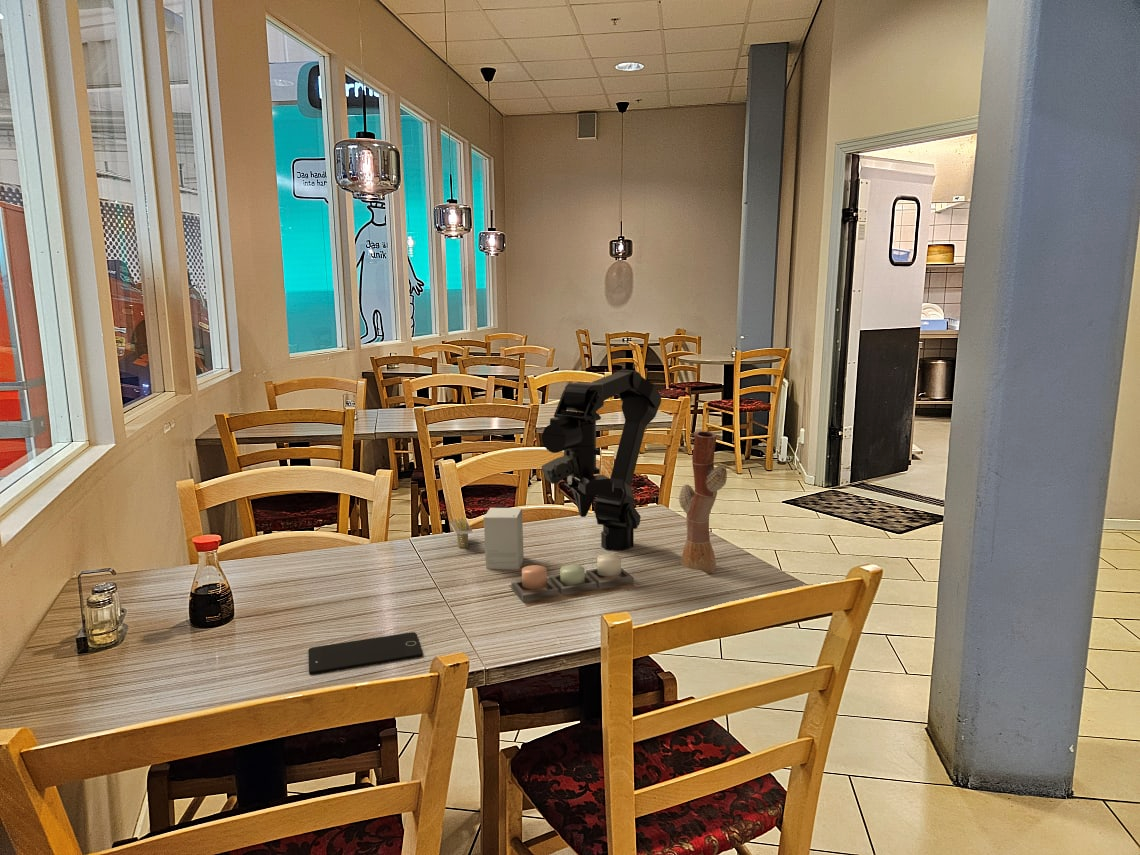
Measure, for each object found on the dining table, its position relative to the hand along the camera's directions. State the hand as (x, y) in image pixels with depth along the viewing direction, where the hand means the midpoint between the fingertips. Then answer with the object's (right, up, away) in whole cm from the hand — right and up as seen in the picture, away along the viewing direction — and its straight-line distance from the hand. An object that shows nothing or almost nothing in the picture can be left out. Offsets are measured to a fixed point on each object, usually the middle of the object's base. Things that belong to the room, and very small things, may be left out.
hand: (582, 516), depth 164 cm
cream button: (+5, -10, -7) cm, 14 cm away
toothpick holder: (-28, -9, +20) cm, 36 cm away
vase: (+25, -12, +1) cm, 28 cm away
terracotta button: (-10, -12, -13) cm, 20 cm away
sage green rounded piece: (-2, -12, -10) cm, 16 cm away
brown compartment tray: (-2, -14, -9) cm, 17 cm away
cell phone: (-37, -20, -34) cm, 54 cm away
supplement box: (-17, -12, +4) cm, 21 cm away
